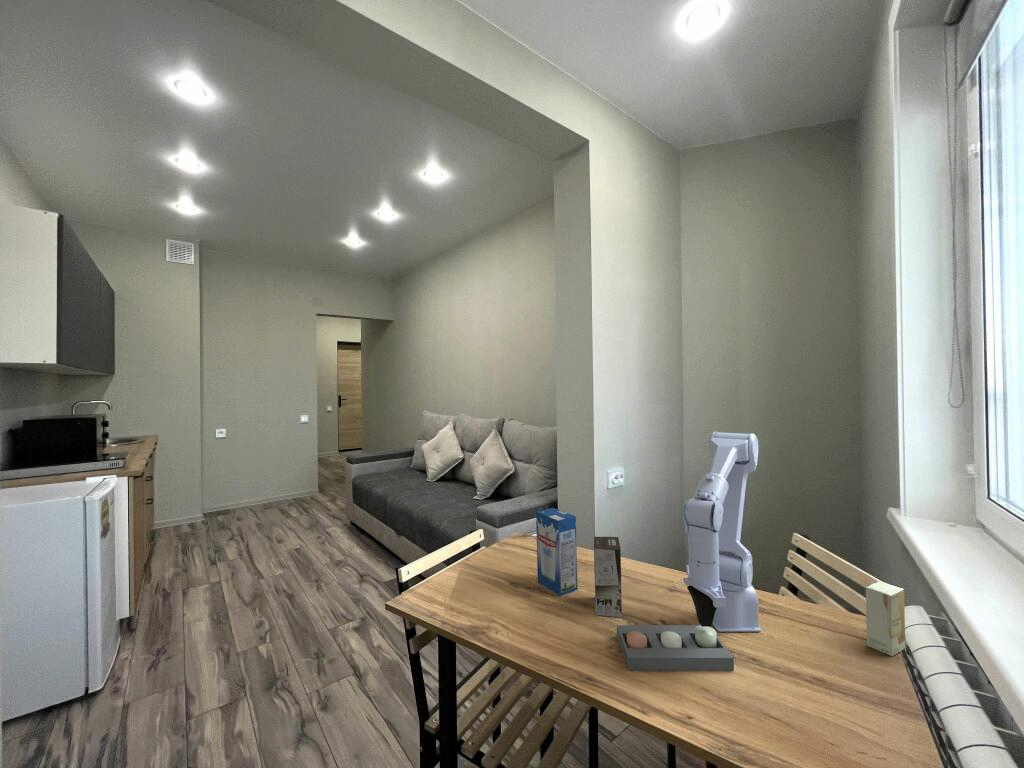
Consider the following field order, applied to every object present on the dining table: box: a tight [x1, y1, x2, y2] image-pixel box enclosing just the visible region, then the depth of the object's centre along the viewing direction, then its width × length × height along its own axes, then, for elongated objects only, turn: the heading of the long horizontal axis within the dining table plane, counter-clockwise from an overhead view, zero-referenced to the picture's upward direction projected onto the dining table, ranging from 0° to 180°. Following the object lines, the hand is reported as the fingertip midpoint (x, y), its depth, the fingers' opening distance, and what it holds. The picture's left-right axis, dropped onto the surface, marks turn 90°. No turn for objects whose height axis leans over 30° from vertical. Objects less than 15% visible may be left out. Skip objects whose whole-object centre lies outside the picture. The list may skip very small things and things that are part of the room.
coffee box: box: [593, 536, 623, 618], centre depth 105 cm, size 9×6×16 cm
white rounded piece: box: [661, 631, 682, 648], centre depth 86 cm, size 4×4×3 cm
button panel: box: [616, 624, 735, 672], centre depth 86 cm, size 20×11×2 cm, turn 88°
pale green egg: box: [695, 624, 717, 648], centre depth 86 cm, size 4×4×3 cm
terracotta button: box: [627, 631, 647, 648], centre depth 87 cm, size 4×4×3 cm
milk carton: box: [535, 507, 578, 597], centre depth 116 cm, size 10×6×20 cm, turn 33°
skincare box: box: [865, 580, 906, 657], centre depth 87 cm, size 6×4×12 cm
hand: (705, 624), depth 86 cm, fingers closed
